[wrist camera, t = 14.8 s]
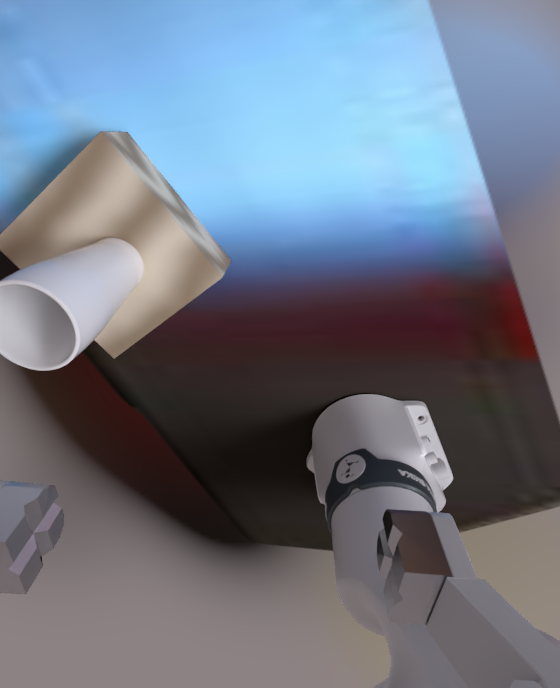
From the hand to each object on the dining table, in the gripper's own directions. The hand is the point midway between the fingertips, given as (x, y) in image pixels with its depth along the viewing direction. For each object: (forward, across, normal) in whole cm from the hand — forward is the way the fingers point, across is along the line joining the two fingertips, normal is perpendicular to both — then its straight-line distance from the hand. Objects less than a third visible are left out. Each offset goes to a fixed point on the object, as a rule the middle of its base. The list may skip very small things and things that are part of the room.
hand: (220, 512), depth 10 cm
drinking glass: (+31, +16, +4) cm, 35 cm away
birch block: (+37, +16, +4) cm, 41 cm away
